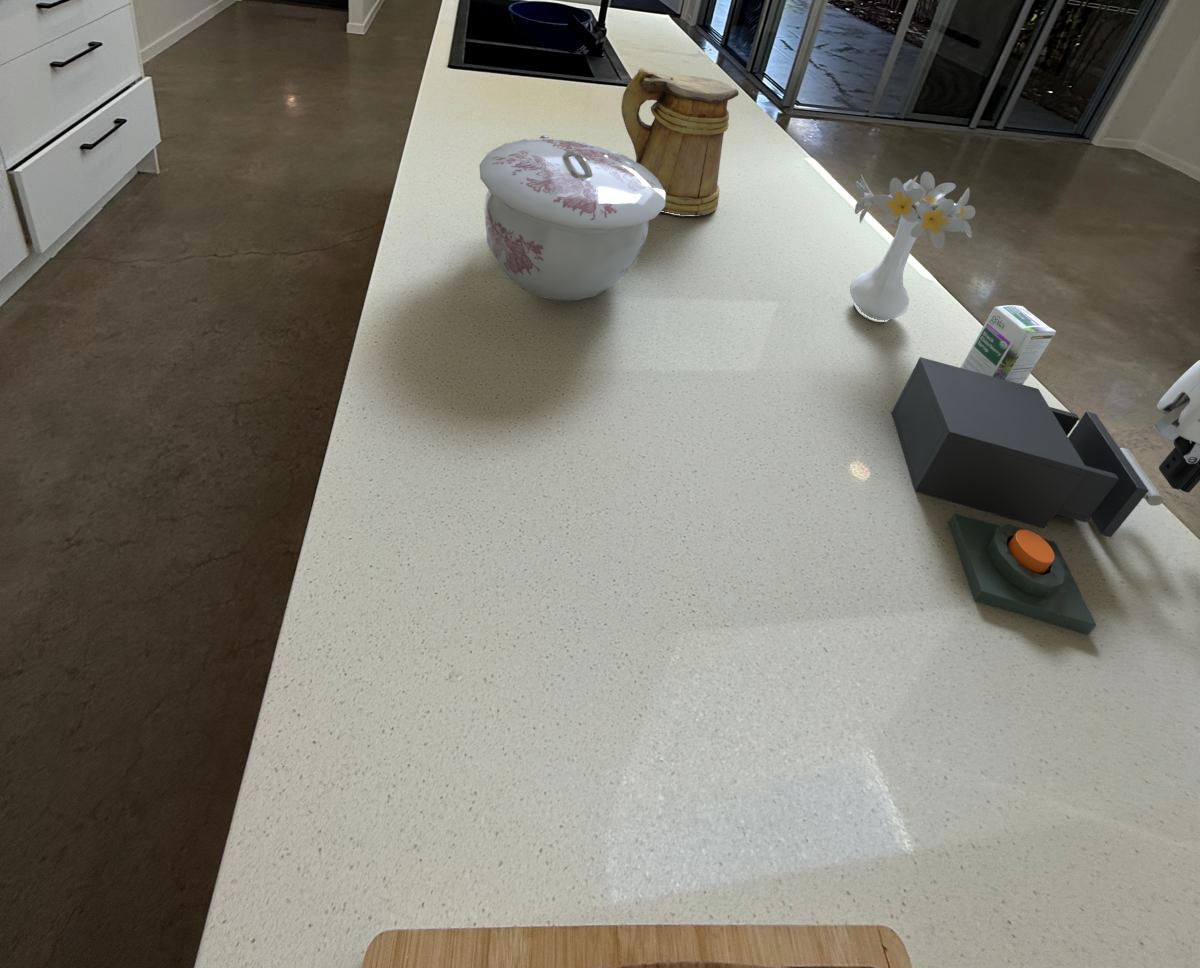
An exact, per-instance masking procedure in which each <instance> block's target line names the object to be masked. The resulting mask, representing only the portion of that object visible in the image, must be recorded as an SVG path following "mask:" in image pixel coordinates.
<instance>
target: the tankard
mask: <svg viewBox="0 0 1200 968" xmlns="http://www.w3.org/2000/svg"><path fill="white" fill-rule="evenodd" d="M637 71H638V72H637V74H635V75H634V76H633V77H632V78H631V80H629V82H628V83H627V86H626V88H625V90H624V92H623V94H622V99H621V116H622V119H623V123H624V126H625V130H626V131H627V135H628V136H629V138H630V140H631V143H632V145H633V149H634V153H635V162H637V163H639V164H641V165H642V166H644V167H645V168H646V169H647V170H648V171H649V172H651V173H652V174H653V175H654V176H655V177H657V179H658V181H659V182H660V184H661V186H662V187H663V189H664V191H665V193H666V199H665V207H664V208H663V209H662V210H661V211H664V212H669V213H674V214H680V215H700V216H706V214H707V215H710V214H712V213H713V212H715V210H716V209H717V208H718V205H719V199H720V187H719V184H718V181H719V175H720V174H719V173H720V165H721V159H722V158H721V157H722V148H723V144H724V143H723V142H724V134H725V132H726V131H727V130H728V129H729V120H730V112H729V110H728V103H729V101H730V100H732V99H734V98H736V97H738V96H739V93H740V92H739V90H738V88H737V87H735V86H732V85H730V84H728V83H726V82H724V81H721V80H717V79H713V78H708V77H702V76H696V75H695V76H694V75H685V74H684V75H683V74H673V75H668V74H667V75H665V74H659V73H657V72H655V71H650V70H648V69H645V68H639V69H638V70H637ZM647 101H655V102H654V103H652V105H651V106H650V112H651V114H652V116H653V117H654V118H653V121H652V123H651V124H647V123H646V122H643V121H642V118H641V117H640V110H641V107H642V105H643V104H644V103H645V102H647ZM711 212H712V213H711ZM709 213H710V214H709Z"/></svg>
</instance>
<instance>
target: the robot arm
mask: <svg viewBox="0 0 1200 968" xmlns="http://www.w3.org/2000/svg"><path fill="white" fill-rule="evenodd" d="M1156 408H1157V410H1158V411H1159V412H1160V413H1162V414H1163V415H1164V416H1162V417H1161V418H1160V419H1159V420H1157V421H1156V422H1155V423H1154V424H1153V428H1154V429H1155V430H1156V432H1157V433H1158V434H1159V436H1161V437H1162V438H1164V439H1166V440H1168V441H1170V442H1171V443H1172V445H1173V446H1174V448H1173V449H1172V450H1171V451H1170V452H1169V454H1168V455H1167V456H1166V458H1164V459H1163V461H1162V462H1161V463H1160V464H1159V466H1158V471H1159V472H1160V473H1161V474H1162V476H1163V477H1164V479H1165V480H1166V481H1167V483H1168V484H1169V486H1170V487H1171V489H1174V490H1178V491H1180V490H1181V491H1182V492H1185V493H1190V492H1191V491H1192V490H1193V489H1194V488H1195V487H1196V486H1197V485H1198V483H1199V482H1200V359H1199V360H1197V361H1196V362H1195V363H1194V364H1193V365H1192V366H1191V367H1190V368H1188V369H1187V370H1186V371H1185V372H1184V373H1183V374H1182V375H1181V376H1180V377H1179V378H1178V379H1177V380H1176V381H1175V382H1174V383H1173V384H1172V385H1171V387H1170V388H1169V389H1168V390H1167V391H1166V392H1165V393H1164V395H1163V396H1162V397H1161V398H1160V399H1159V401H1158V402H1157V405H1156Z"/></svg>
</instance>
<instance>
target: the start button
mask: <svg viewBox="0 0 1200 968" xmlns="http://www.w3.org/2000/svg"><path fill="white" fill-rule="evenodd" d="M1044 539H1045V538H1043V537H1042V536H1040V535H1039V534H1037V533H1036V532H1033V531H1031V530H1028V529H1025V530H1018V531H1017V532H1016V534H1015V535H1014V536H1013V538H1012V539H1011V541H1010V542H1009V545H1008V547H1009V551H1010V553H1011V555H1012V556H1013V557H1014V558H1015V559H1016V560H1017V561H1018V562H1019V564H1021V565H1022V566H1024V567H1025V568H1027V569H1028V570H1030V571H1031V572H1034V573H1044V572H1045V571H1046V570H1047V569H1048V567H1049V566H1050V565H1051V564H1052V562H1053V561H1054V558H1055V556H1054V552H1053V550H1052V548H1051V547H1050V546H1049V544H1048V543H1047V542H1046V541H1045V540H1044Z"/></svg>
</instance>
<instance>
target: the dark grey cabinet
mask: <svg viewBox="0 0 1200 968" xmlns="http://www.w3.org/2000/svg"><path fill="white" fill-rule="evenodd" d="M1050 407H1051V406H1050V405H1049V404H1048V402H1047V401H1046V399H1045V397H1044V395H1043V394H1042V392H1041V391H1040V390H1039V388H1036V387H1033V386H1029V385H1026V384H1023V385H1022V384H1018V383H1015V382H1011V381H1007V380H1004V379H1000V378H996V377H992V376H989V375H985V374H981V373H978V372H974V371H970V370H966V369H963V368H960V367H959V366H955V365H951V364H948V363H944V362H940V361H936V360H933V359H929V358H926V357H923V356H920V357H919V358H918V360H917V363H916V364H915V366H914V368H913V370H912V371H911V374H910V376H909V378H908V380H907V381H906V383H905V384H904V387H903V389H902V391H901V393H900V395H899V397H898V399H897V400H896V403H895V404H894V406H893V408H892V410H891V412H890V413H891V417H892V421H893V423H894V427H895V430H896V434H897V437H898V440H899V444H900V446H901V450H902V453H903V458H904V460H905V464H906V467H907V470H908V474H909V477H910V480H911V483H912V486H913V490H914V492H915V493H918V494H921V495H925V496H929V497H932V498H936V499H940V500H943V501H945V502H950V503H953V504H957V505H959V506H963V507H966V508H970V509H974V510H977V511H981V512H984V513H988V514H992V515H995V516H998V517H1002V518H1005V519H1008V520H1013V521H1014V522H1015V521H1016V522H1020V523H1023V524H1026V525H1030V526H1033V527H1036V528H1040V529H1046V528H1047V527H1048V525H1049V524H1050V523H1051V521H1052V520H1053V518H1054V517H1055V516H1056V515H1057V514H1056V513H1057V511H1058V510H1059V509H1060V507H1061V506H1062V505H1063V503H1064V502H1065V501H1066V499H1067V498H1068V496H1069V495H1070V494H1071V492H1072V491H1073V490H1074V488H1075V487H1076V485H1077V484H1078V483H1079V481H1080V480H1081V479H1082V477H1083V476H1084V475H1085V473H1086V472H1087V471H1088V470H1087V468H1086V466H1085V465H1084V463H1083V461H1082V460H1081V458H1080V457H1079V455H1078V453H1077V452H1076V450H1075V448H1074V447H1073V445H1072V443H1071V442H1070V440H1069V438H1068V437H1069V436H1067V435H1066V434H1065V432H1064V430H1063V429H1062V427H1061V425H1060V424H1059V422H1058V420H1057V419H1056V417H1055V415H1054V414H1053V412H1052V410H1051V409H1050Z"/></svg>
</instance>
